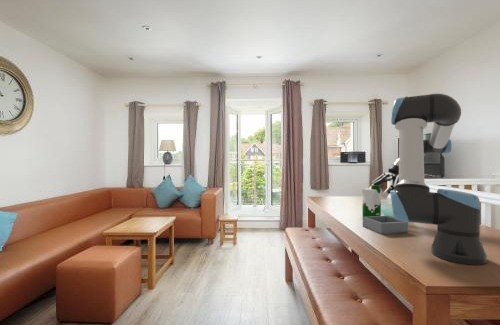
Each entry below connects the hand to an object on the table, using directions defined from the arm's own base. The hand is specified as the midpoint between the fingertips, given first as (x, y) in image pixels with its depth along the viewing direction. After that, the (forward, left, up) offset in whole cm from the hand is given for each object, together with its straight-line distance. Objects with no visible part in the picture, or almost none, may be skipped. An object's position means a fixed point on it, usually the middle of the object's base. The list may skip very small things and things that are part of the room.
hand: (374, 195), depth 145 cm
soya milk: (-1, +3, -14) cm, 15 cm away
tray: (-19, +9, -14) cm, 25 cm away
